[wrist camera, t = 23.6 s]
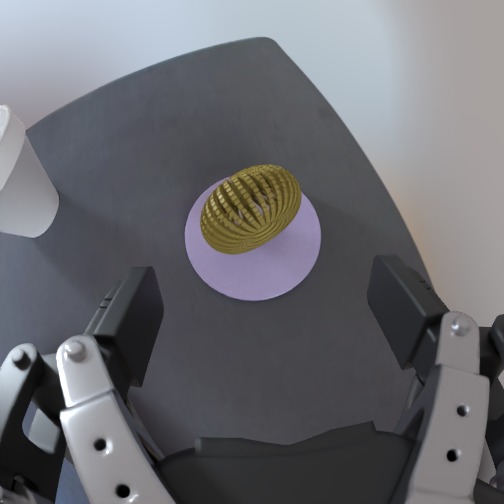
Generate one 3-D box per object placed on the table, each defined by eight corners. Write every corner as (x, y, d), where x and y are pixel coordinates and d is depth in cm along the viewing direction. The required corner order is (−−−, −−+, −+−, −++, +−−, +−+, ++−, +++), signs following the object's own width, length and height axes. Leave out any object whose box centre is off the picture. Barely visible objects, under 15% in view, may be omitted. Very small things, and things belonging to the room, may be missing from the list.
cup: (78, 239, 25) (-9, 177, 12) (9, 272, 24) (-69, 236, 11) (77, 154, 29) (22, 84, 16) (14, 191, 28) (-44, 142, 14)
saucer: (309, 176, 27) (311, 170, 26) (325, 296, 23) (328, 295, 22) (189, 182, 27) (187, 177, 26) (186, 304, 23) (184, 303, 22)
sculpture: (277, 192, 25) (285, 136, 18) (303, 226, 24) (323, 179, 17) (200, 236, 24) (178, 191, 16) (224, 274, 23) (209, 243, 15)
